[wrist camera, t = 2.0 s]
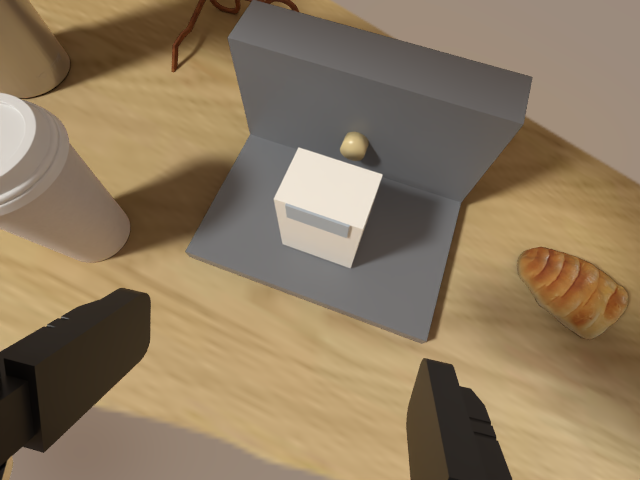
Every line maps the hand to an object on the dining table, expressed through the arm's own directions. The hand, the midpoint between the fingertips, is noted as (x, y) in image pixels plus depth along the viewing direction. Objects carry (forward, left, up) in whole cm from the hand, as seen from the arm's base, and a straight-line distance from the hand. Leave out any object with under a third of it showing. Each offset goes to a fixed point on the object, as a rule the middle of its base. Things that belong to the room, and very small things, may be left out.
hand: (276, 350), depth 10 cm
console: (-3, +17, -24) cm, 29 cm away
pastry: (+21, +16, -24) cm, 36 cm away
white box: (-3, +13, -22) cm, 26 cm away
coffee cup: (-25, +6, -24) cm, 35 cm away
